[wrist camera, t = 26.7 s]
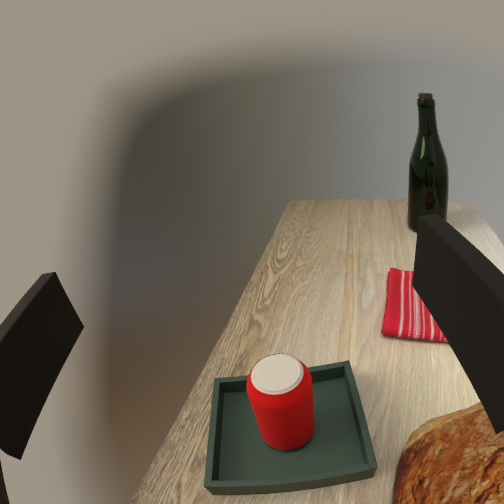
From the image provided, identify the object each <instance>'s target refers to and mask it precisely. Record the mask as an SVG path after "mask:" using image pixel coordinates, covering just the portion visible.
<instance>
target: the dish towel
mask: <svg viewBox="0 0 504 504" xmlns="http://www.w3.org/2000/svg"><path fill="white" fill-rule="evenodd" d="M412 279H413V272H412V271H404V270H398V269H395V268H390V271H389V272H388V277H387V298H386V306H385V314H384V319H383V325H382V330H381V333H382V334H383V335H385V336H396V337H400V338H408V339H417V340H430V341H439V342H448V341H447V339H446V338H445V336H444V334H443V333H442V331H441V330H440V328H439V326H438V325H437V323H436V321H435V320H434V318H433V317H432V315H431V314H430V312H429V310H428V309H427V307H426V306H425V304H424V303H423V301H422V300H421V298H420V297H419V295H418V294H417V292H416V291H415V289H414V288H413V286H412Z"/></svg>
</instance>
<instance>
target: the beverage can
mask: <svg viewBox="0 0 504 504" xmlns="http://www.w3.org/2000/svg"><path fill="white" fill-rule="evenodd" d="M246 389H247V394H248V397H249V400H250V403H251V406H252V409H253V411H254V414H255V417H256V420H257V423H258V426H259V429H260V431H261V434H262V437H263V439H264V440H265V442H266V443H267V444H268V445H270V446H271V447H273V448H276V449H279V450H292V449H296V448H298V447H300V446H302V445H304V444H305V443H306V442H307V441H308V440H309V439H310V438H311V436H312V434H313V431H314V406H313V389H312V377H311V374H310V372H309V370H308V368H307V367H306V366H305V365H304V364H303V363H302V362H301V361H299V360H298V359H297V358H295V357H293V356H291V355H287V354H274V355H270V356H267V357H265V358H263V359H261V360H260V361H259V362H258V363H257V364H256V365H255V366H254V367H253V369H252V370H251V372H250V374H249V376H248V379H247V384H246Z"/></svg>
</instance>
